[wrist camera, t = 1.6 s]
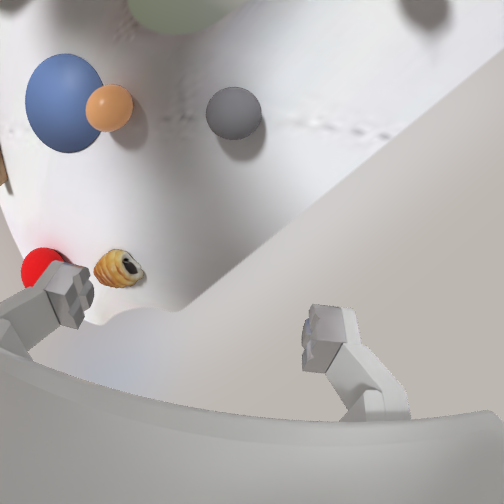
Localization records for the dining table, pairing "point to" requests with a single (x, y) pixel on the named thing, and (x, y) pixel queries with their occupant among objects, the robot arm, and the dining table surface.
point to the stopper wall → (2, 171)
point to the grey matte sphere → (233, 113)
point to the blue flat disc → (62, 102)
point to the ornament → (37, 264)
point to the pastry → (118, 269)
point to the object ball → (109, 108)
